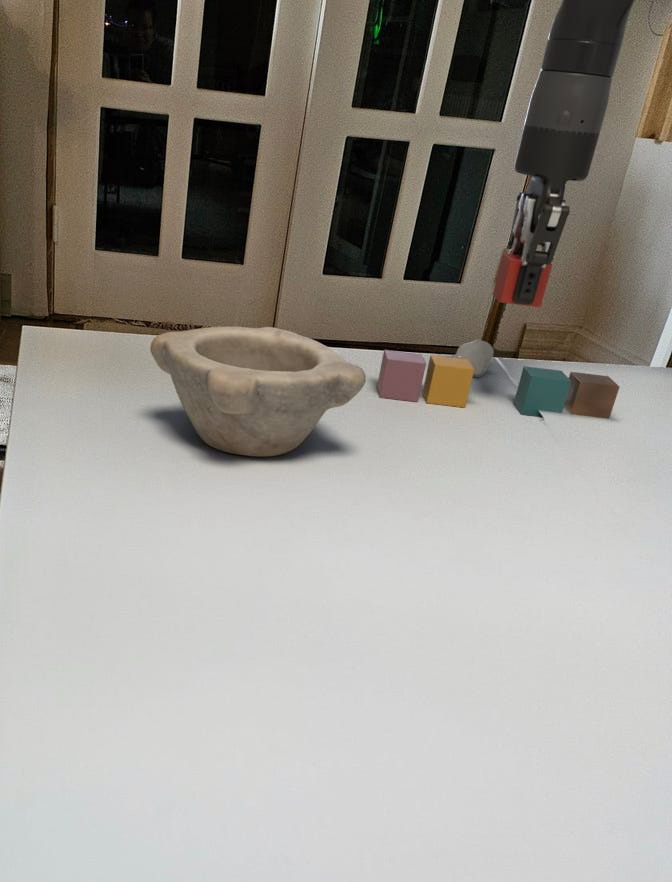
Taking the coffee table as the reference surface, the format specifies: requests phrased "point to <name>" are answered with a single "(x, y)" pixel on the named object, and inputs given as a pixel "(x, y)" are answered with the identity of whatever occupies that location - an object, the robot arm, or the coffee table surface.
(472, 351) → the pale two-lobed sculpture
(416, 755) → the coffee table surface
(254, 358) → the mortar
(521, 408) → the block
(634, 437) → the coffee table surface
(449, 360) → the block
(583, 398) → the block
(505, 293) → the red block
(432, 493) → the coffee table surface
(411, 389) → the block
